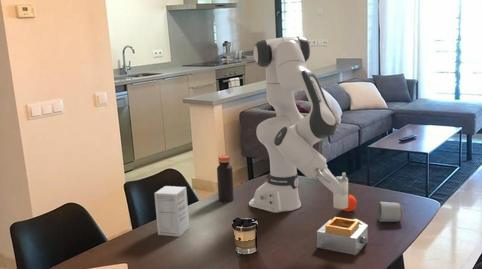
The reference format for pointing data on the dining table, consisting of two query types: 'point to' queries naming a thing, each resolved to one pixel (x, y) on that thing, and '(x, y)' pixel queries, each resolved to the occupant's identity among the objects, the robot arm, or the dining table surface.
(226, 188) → the bottle
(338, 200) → the spout can
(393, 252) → the dining table surface
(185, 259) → the dining table surface
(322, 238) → the block
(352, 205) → the clementine
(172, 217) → the supplement box
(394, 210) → the ceramic mug
